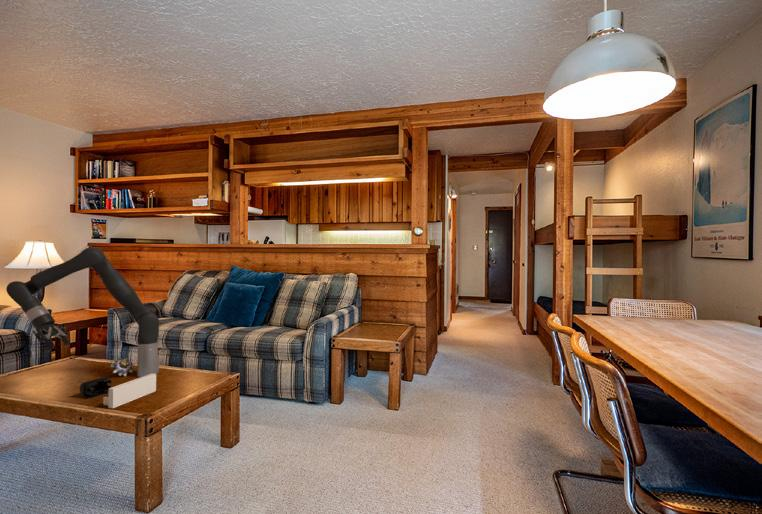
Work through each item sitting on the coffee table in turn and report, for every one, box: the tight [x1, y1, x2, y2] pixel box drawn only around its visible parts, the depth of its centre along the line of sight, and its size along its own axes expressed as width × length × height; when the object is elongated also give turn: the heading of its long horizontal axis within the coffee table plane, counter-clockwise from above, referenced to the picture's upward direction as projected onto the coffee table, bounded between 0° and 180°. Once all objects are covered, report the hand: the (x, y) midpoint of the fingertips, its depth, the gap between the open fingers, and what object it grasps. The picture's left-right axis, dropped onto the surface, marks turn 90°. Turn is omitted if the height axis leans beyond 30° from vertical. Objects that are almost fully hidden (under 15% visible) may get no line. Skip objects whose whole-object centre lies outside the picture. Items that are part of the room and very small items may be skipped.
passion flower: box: [108, 356, 136, 377], centre depth 205 cm, size 11×11×12 cm
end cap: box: [79, 376, 113, 399], centre depth 176 cm, size 10×7×7 cm
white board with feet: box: [102, 374, 157, 409], centre depth 171 cm, size 22×7×8 cm, turn 166°
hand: (60, 345), depth 178 cm, fingers open, 8 cm apart
